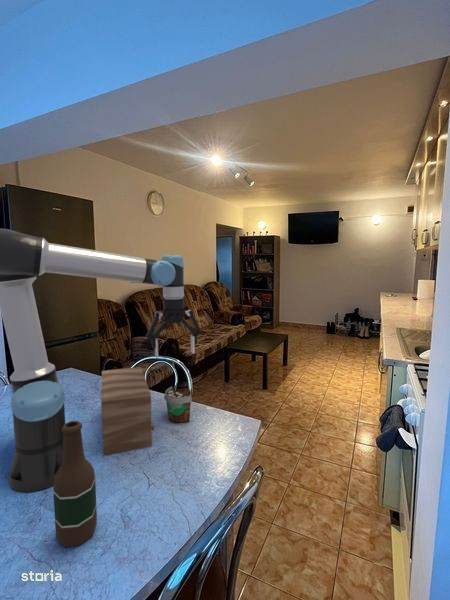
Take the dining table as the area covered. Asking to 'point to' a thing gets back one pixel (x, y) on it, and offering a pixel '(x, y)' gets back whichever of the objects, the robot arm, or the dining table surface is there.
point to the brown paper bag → (125, 411)
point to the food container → (177, 406)
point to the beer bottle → (74, 491)
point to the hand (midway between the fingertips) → (175, 354)
